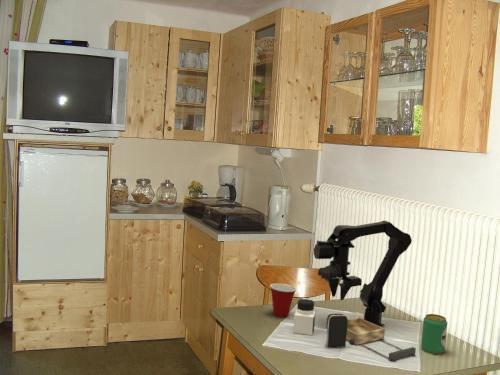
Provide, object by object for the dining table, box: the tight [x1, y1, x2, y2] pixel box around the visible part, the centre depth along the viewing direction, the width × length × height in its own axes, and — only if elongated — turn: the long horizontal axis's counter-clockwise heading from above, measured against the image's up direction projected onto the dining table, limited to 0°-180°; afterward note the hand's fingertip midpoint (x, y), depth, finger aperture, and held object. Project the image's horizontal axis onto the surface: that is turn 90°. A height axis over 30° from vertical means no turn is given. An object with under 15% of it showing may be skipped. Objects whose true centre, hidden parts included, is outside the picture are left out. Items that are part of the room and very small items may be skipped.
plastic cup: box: [269, 283, 297, 318], centre depth 222 cm, size 11×11×12 cm
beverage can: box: [420, 313, 448, 355], centre depth 194 cm, size 8×8×12 cm
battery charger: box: [325, 313, 349, 348], centre depth 193 cm, size 7×4×11 cm, turn 102°
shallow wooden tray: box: [346, 317, 386, 345], centre depth 204 cm, size 16×13×4 cm
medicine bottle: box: [293, 298, 316, 336], centre depth 206 cm, size 7×7×12 cm
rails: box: [359, 339, 417, 363], centre depth 197 cm, size 12×29×2 cm, turn 34°
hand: (337, 298), depth 213 cm, fingers open, 4 cm apart
